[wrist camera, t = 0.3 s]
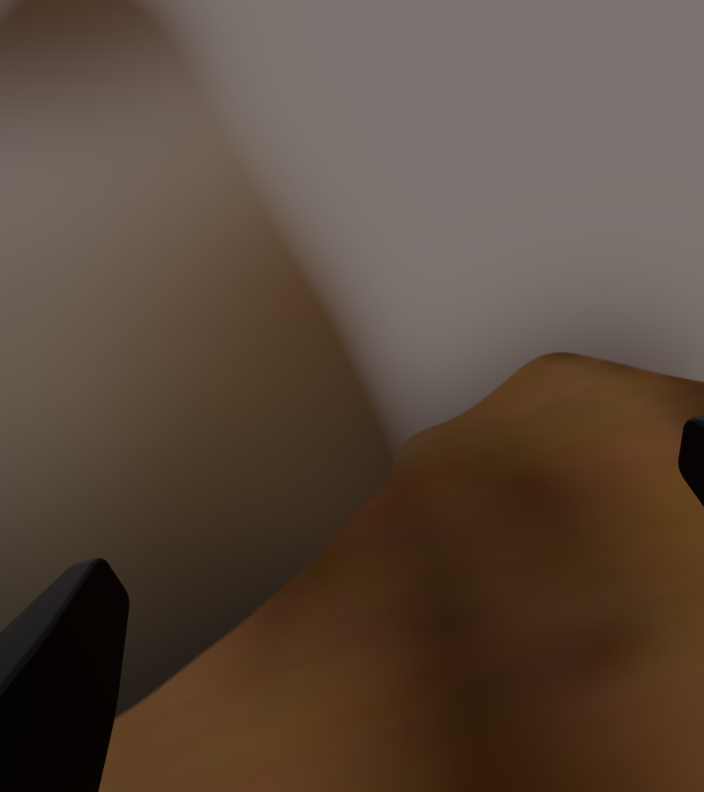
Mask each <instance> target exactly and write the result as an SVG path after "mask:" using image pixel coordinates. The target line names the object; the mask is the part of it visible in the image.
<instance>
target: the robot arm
mask: <svg viewBox="0 0 704 792" xmlns="http://www.w3.org/2000/svg"><path fill="white" fill-rule="evenodd" d="M678 465H679V470H680V472H681V475H682V477H683V478H684V480H685V481H686V483H687V484H688V485H689V487H690V488H691V489H692V491H693V492H694V494H695V495H696V496H697V498H698V499H699V501H700V502H701V503H702V505H703V506H704V415H702V416H698V417H693V418H691V419H689V420H687V422H686V423H685V424H684V427H683V433H682V439H681V446H680V452H679V458H678ZM128 614H129V598H128V594H127V591H126V589H125V588H124V586H123V585H122V583H121V582H120V580H119V579H118V577H117V576H116V574H115V573H114V571H113V570H112V568H111V567H110V565H109V564H108V562H107V561H106V560H104V559H103V558H93V559H88V560H84V561H80V562H77V563H74V564H72V565H71V566H70V567H68V568H67V569H66V570H65V571H64V572H63V573H62V574H61V575H60V576H59V577H58V578H57V579H56V580H55V581H54V582H53V583H52V584H50V585H49V586H48V587H47V588H46V589H45V590H44V591H43V592H42V593H41V594H40V595H39V596H38V597H37V598H36V599H35V600H34V601H32V602H31V603H30V604H29V605H28V606H27V607H26V608H25V609H24V610H23V611H22V612H21V613H20V614H19V615H18V616H16V617H15V618H14V619H13V620H12V621H11V622H10V623H9V624H8V625H7V626H6V627H5V628H4V629H3V630H2V631H1V632H0V792H98V791H99V786H100V782H101V777H102V773H103V768H104V764H105V760H106V755H107V751H108V746H109V742H110V737H111V733H112V728H113V723H114V718H115V713H116V708H117V702H118V695H119V688H120V680H121V671H122V662H123V655H124V647H125V639H126V630H127V622H128Z"/></svg>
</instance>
